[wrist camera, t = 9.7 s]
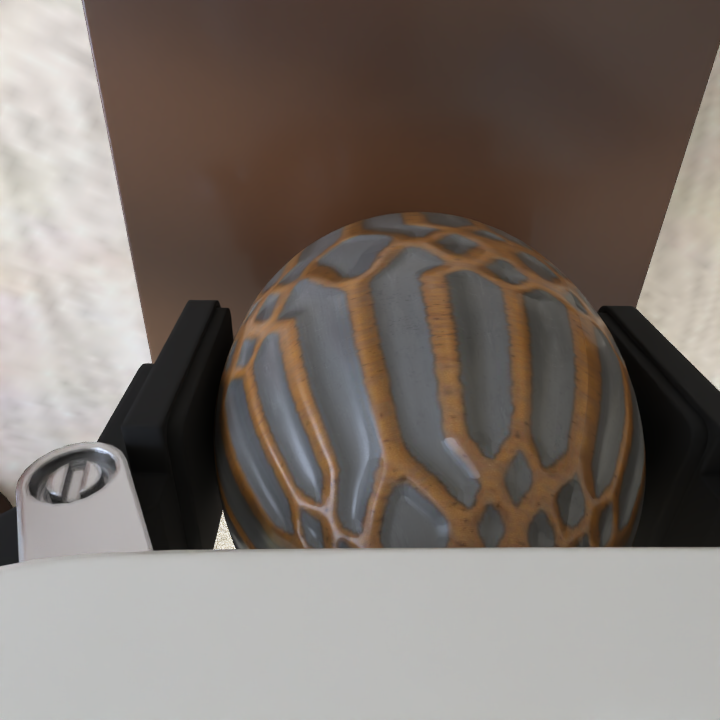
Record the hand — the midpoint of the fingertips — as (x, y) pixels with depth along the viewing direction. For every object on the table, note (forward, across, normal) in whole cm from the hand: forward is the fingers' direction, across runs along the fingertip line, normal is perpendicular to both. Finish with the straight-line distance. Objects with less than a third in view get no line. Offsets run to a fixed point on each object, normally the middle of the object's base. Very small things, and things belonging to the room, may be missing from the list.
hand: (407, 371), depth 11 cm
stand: (+13, 0, 0) cm, 13 cm away
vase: (+2, 0, 0) cm, 2 cm away
